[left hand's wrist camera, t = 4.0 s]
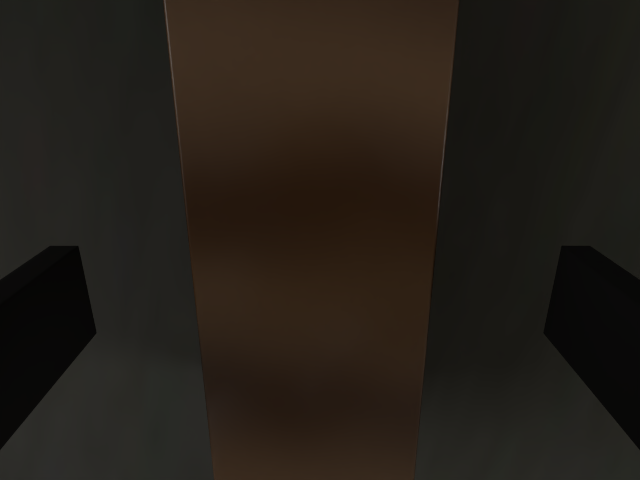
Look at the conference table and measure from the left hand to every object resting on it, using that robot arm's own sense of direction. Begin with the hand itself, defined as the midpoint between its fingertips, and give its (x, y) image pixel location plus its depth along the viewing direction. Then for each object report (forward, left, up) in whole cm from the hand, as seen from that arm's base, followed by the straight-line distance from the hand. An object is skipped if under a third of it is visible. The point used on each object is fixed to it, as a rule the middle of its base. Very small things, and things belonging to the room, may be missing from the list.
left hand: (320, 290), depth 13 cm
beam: (+16, +18, -7) cm, 25 cm away
